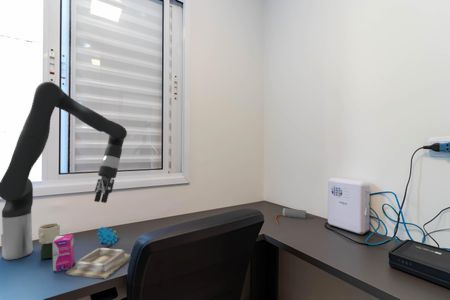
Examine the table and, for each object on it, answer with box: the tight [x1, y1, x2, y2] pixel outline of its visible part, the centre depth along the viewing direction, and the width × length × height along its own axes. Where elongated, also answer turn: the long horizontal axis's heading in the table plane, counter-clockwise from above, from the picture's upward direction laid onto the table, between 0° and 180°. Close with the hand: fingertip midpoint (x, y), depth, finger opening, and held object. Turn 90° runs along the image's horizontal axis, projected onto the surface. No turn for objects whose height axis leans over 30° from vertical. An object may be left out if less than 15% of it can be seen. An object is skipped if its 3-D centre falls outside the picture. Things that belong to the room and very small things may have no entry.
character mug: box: [37, 222, 61, 259], centre depth 96 cm, size 11×7×13 cm, turn 2°
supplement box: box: [52, 233, 75, 273], centre depth 88 cm, size 6×6×12 cm
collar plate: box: [65, 247, 131, 280], centre depth 89 cm, size 16×16×4 cm
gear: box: [96, 226, 118, 246], centre depth 109 cm, size 11×6×10 cm
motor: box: [275, 207, 315, 226], centre depth 138 cm, size 23×22×5 cm
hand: (100, 202), depth 104 cm, fingers open, 8 cm apart
